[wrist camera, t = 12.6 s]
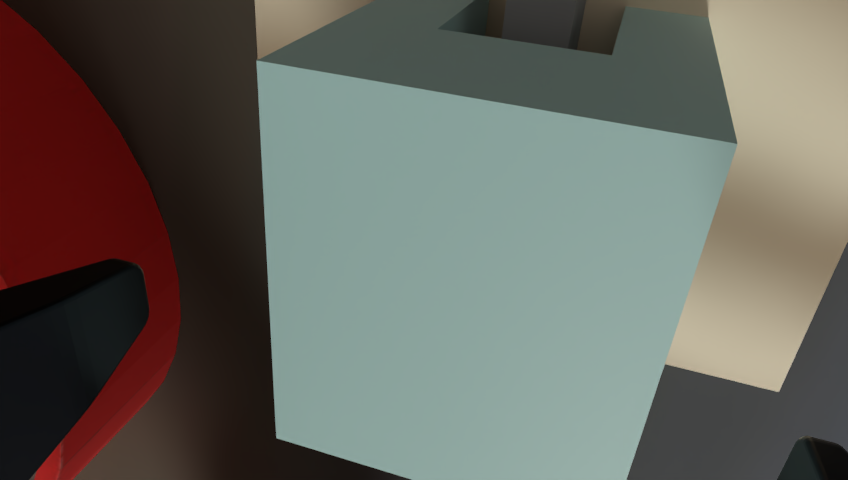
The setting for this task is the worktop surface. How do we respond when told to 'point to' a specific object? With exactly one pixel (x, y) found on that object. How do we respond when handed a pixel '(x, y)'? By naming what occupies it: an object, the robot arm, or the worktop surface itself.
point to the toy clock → (79, 220)
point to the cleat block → (483, 236)
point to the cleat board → (750, 168)
